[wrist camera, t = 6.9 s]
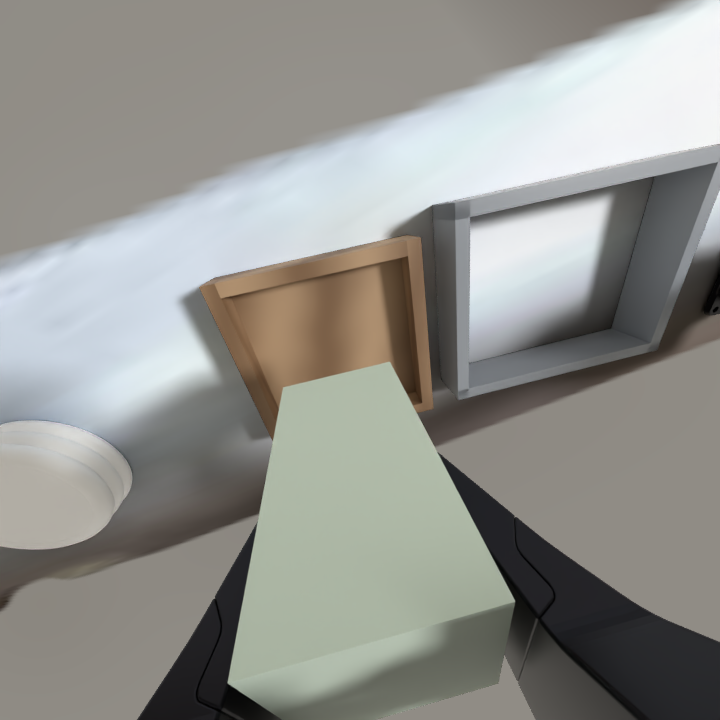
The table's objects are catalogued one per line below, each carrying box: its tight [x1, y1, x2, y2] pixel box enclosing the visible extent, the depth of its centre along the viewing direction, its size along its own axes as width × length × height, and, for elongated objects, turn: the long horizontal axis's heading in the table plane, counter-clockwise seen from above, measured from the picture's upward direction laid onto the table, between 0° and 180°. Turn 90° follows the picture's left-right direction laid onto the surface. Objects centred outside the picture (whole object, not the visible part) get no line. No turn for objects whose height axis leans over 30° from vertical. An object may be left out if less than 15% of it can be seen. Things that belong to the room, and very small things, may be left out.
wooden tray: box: [199, 235, 433, 441], centre depth 18 cm, size 12×12×2 cm
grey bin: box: [432, 144, 720, 400], centre depth 18 cm, size 16×13×3 cm
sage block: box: [228, 362, 515, 720], centre depth 9 cm, size 4×4×8 cm
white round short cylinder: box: [0, 420, 133, 550], centre depth 20 cm, size 10×10×4 cm
